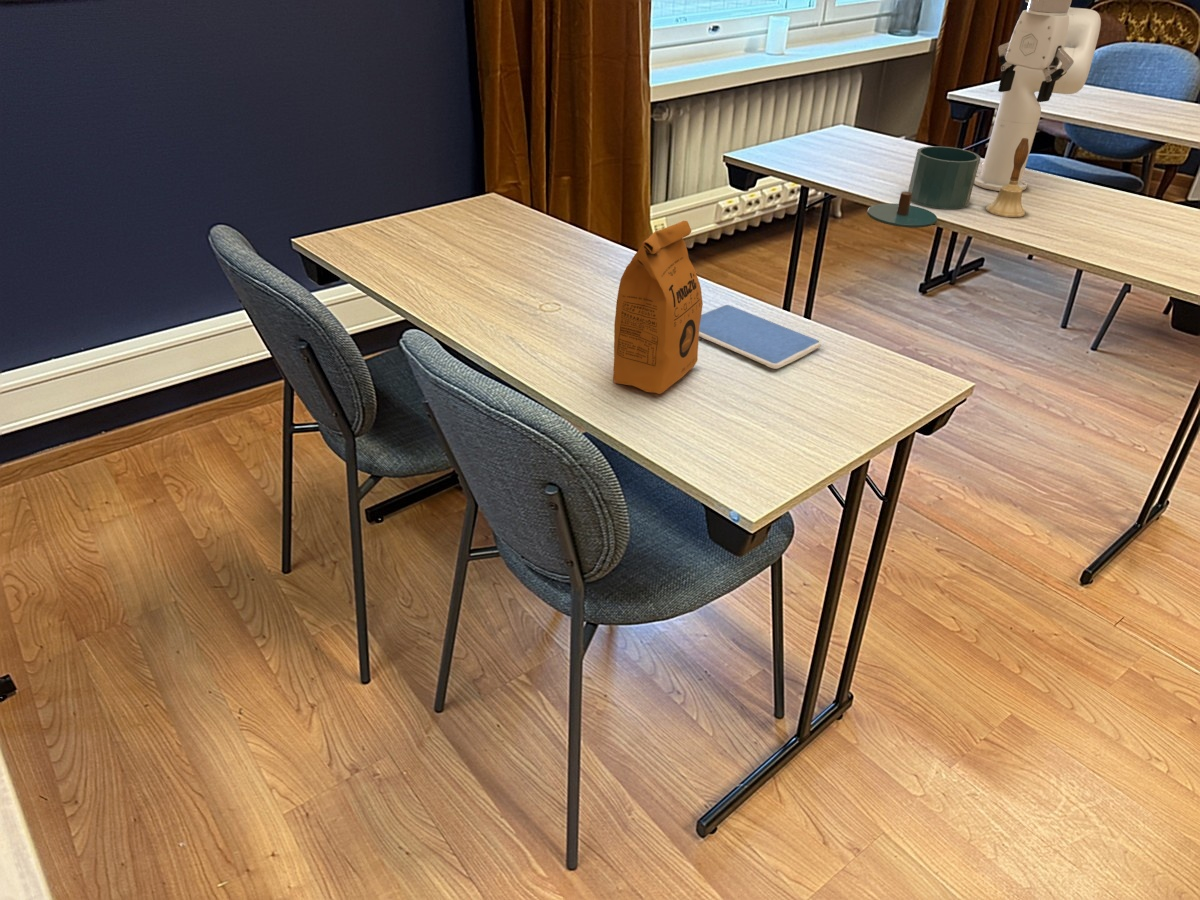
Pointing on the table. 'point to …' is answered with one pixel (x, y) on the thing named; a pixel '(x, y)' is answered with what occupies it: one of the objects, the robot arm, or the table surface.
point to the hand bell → (1011, 188)
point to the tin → (943, 177)
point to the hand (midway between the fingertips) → (1023, 96)
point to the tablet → (755, 336)
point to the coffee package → (657, 313)
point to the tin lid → (902, 213)
